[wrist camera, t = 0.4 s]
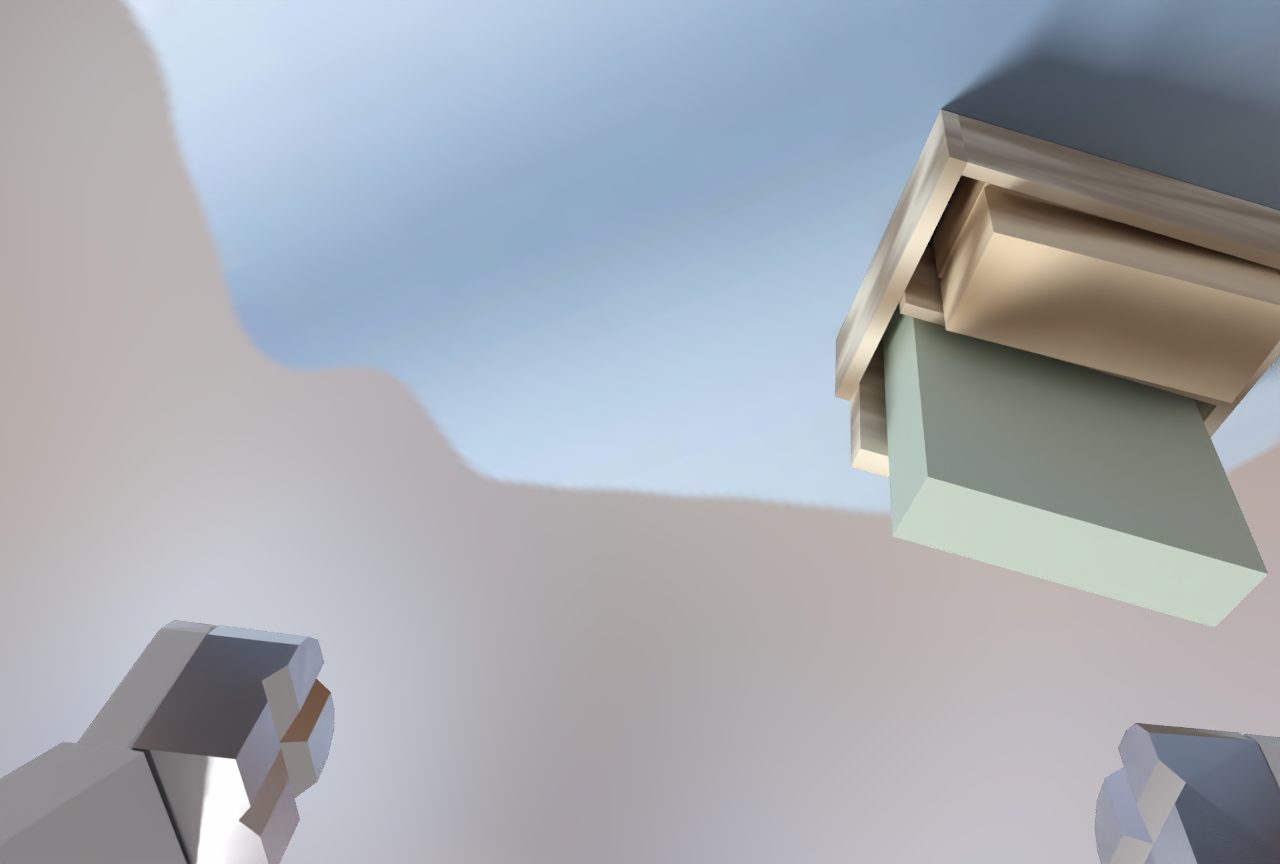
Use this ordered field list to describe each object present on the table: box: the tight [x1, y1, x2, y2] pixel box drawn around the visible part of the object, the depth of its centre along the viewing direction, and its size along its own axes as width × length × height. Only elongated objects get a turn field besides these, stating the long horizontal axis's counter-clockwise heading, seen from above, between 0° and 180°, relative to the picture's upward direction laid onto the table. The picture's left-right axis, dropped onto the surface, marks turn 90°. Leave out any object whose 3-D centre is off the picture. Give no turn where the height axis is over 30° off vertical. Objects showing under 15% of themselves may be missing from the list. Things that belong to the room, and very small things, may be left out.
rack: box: [835, 109, 1280, 477], centre depth 47 cm, size 13×18×10 cm
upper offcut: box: [940, 188, 1280, 403], centre depth 44 cm, size 5×13×4 cm, turn 79°
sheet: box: [882, 303, 1268, 627], centre depth 47 cm, size 4×14×16 cm, turn 77°
